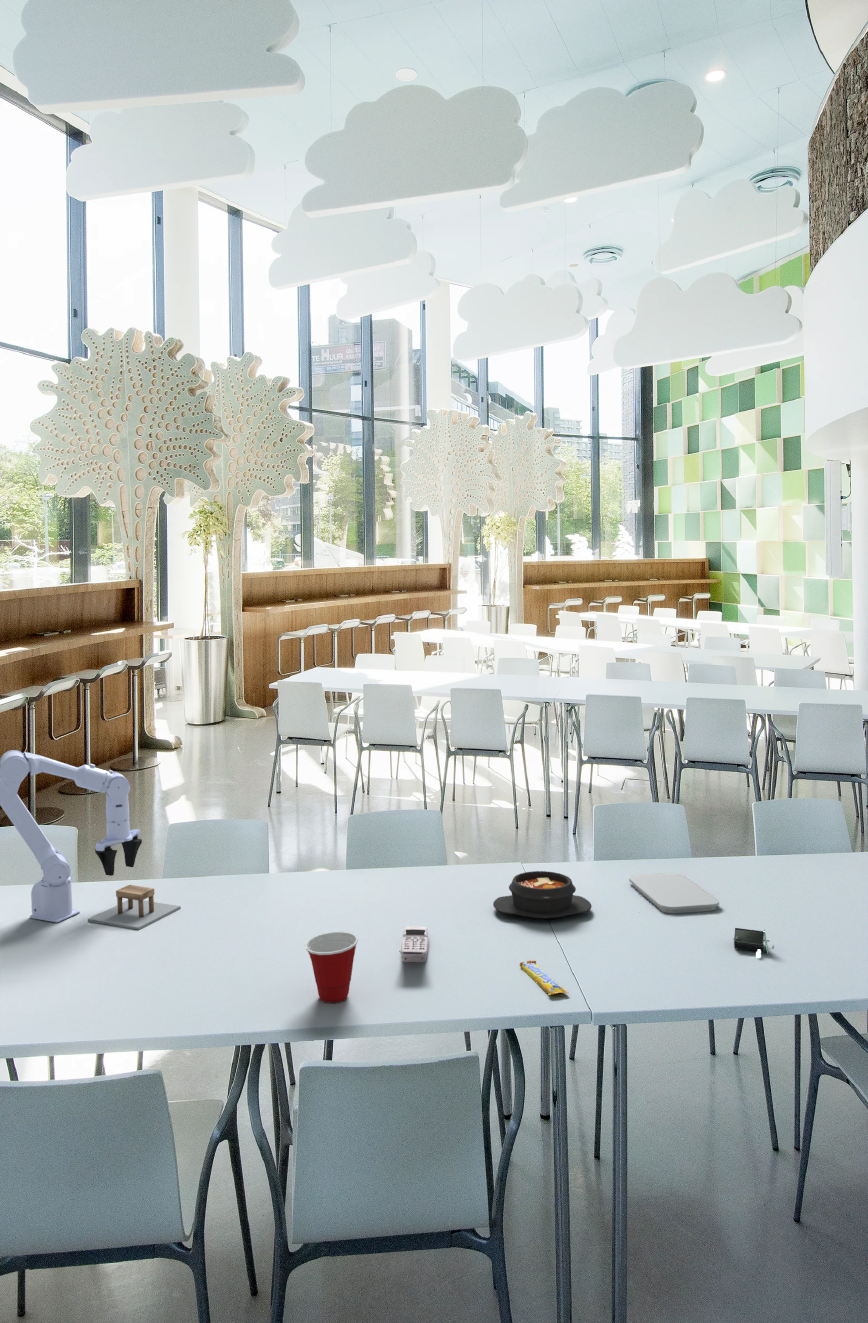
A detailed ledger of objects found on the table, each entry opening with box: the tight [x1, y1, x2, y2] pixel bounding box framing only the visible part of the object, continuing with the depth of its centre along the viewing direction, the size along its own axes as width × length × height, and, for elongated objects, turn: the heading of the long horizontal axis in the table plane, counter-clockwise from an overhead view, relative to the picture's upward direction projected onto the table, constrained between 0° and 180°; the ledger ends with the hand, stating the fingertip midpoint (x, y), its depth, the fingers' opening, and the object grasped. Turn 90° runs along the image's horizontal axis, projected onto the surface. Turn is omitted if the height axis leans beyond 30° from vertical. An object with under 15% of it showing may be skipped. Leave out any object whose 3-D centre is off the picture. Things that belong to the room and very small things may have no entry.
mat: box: [87, 899, 181, 931], centre depth 235 cm, size 16×16×1 cm
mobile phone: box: [399, 926, 429, 963], centre depth 209 cm, size 6×6×25 cm
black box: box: [733, 927, 774, 959], centre depth 211 cm, size 15×15×6 cm
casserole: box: [492, 870, 593, 920], centre depth 235 cm, size 25×19×8 cm
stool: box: [115, 884, 155, 918], centre depth 235 cm, size 5×8×6 cm, turn 66°
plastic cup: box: [304, 931, 359, 1004], centre depth 187 cm, size 11×11×12 cm
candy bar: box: [519, 960, 570, 996], centre depth 194 cm, size 17×4×2 cm, turn 18°
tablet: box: [628, 872, 720, 914], centre depth 246 cm, size 16×26×2 cm, turn 9°
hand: (119, 870), depth 241 cm, fingers open, 7 cm apart
